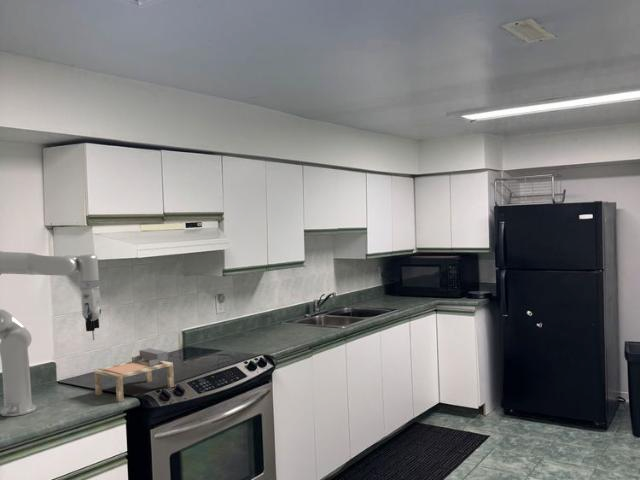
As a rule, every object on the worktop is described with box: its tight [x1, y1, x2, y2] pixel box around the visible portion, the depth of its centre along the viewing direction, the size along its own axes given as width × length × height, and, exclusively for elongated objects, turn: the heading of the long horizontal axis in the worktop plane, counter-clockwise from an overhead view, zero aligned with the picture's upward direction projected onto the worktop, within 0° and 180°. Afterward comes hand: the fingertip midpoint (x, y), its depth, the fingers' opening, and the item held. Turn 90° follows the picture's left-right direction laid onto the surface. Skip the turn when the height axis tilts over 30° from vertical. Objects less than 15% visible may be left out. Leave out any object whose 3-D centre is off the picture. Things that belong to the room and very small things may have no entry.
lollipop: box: [81, 306, 102, 341], centre depth 239 cm, size 7×7×15 cm
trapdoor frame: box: [93, 359, 175, 403], centre depth 254 cm, size 26×19×10 cm
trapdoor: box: [105, 347, 168, 375], centre depth 255 cm, size 22×14×6 cm, turn 139°
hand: (92, 329), depth 239 cm, fingers closed on lollipop, 5 cm apart
